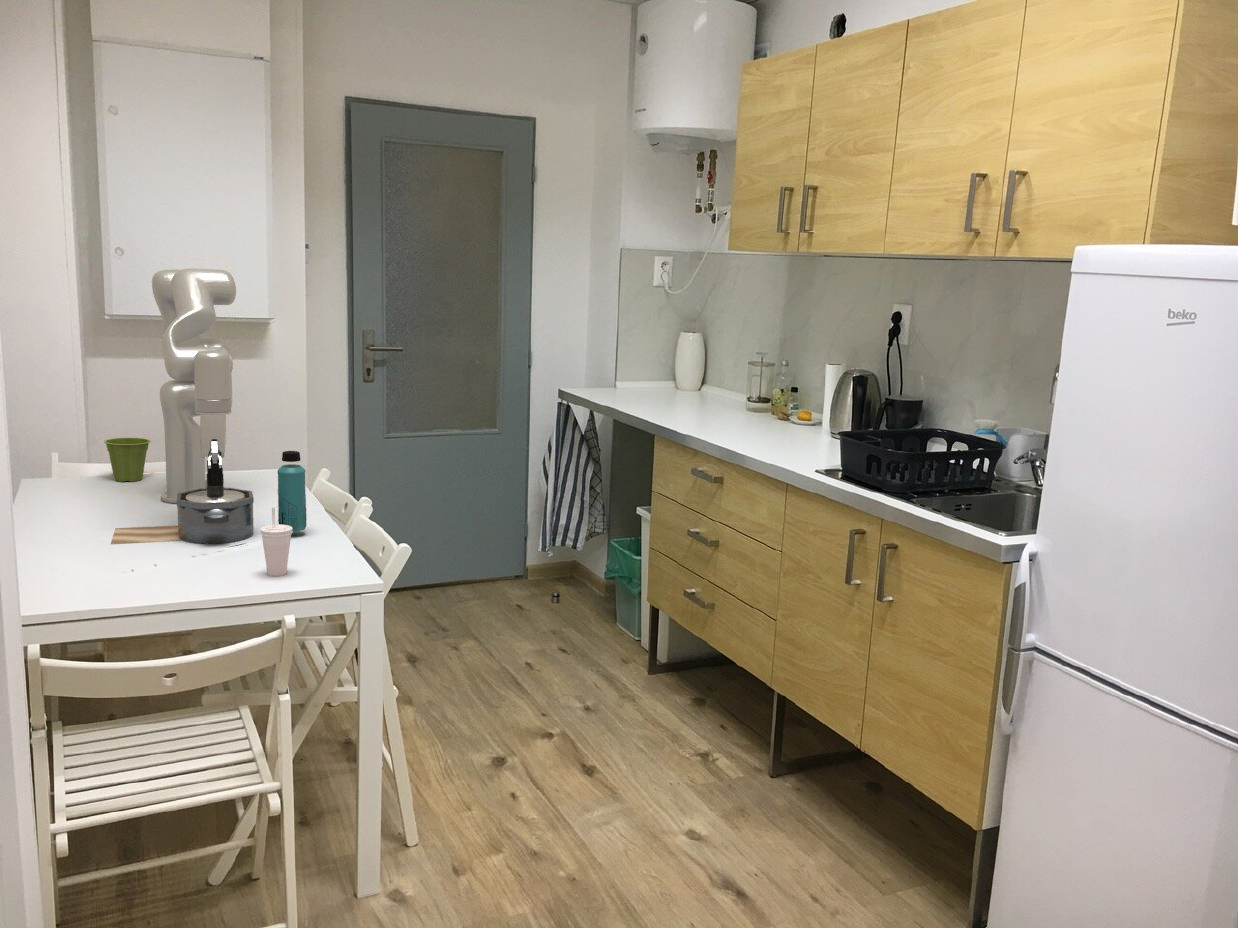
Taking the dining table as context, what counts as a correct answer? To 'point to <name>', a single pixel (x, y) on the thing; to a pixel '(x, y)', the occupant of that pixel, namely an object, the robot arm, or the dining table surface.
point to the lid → (214, 495)
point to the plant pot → (127, 457)
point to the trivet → (145, 534)
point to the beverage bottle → (292, 493)
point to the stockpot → (215, 519)
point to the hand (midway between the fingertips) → (215, 481)
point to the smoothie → (276, 546)
